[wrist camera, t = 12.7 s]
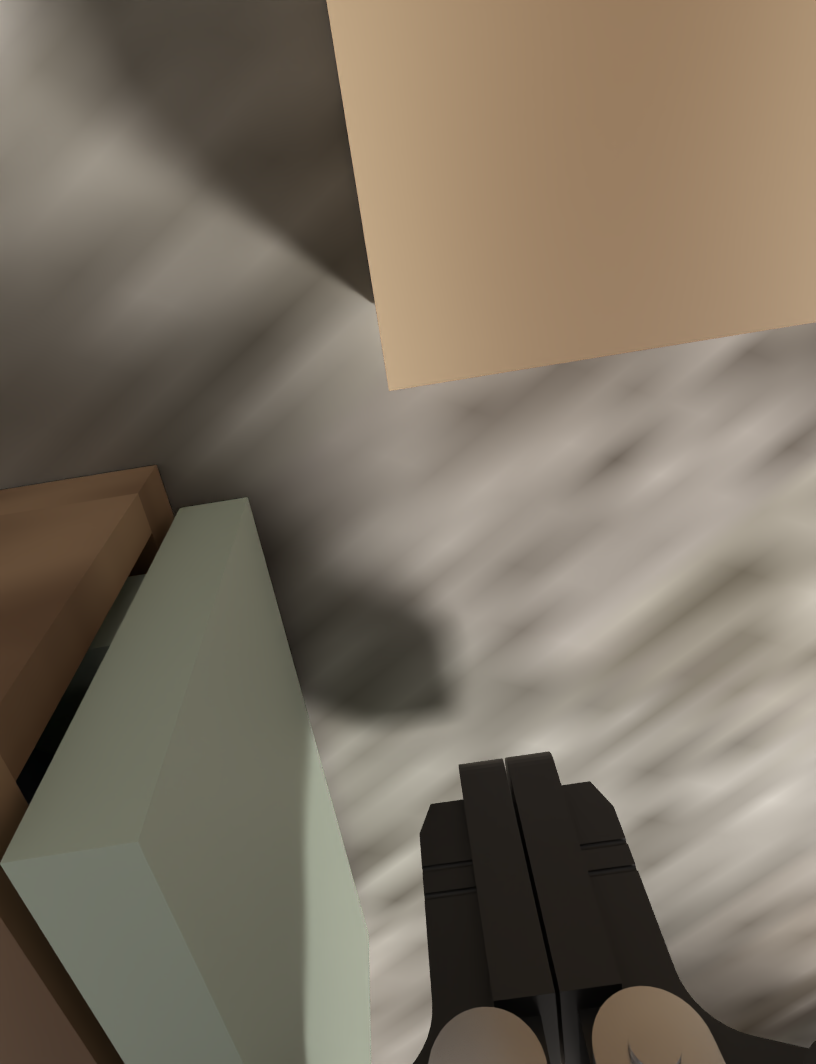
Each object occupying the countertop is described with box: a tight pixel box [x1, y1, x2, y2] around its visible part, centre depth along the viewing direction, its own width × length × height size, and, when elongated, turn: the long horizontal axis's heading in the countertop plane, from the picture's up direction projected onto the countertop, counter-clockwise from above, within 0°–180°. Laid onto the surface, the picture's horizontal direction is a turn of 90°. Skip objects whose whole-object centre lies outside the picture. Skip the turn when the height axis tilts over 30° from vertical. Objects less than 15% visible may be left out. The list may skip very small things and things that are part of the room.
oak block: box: [326, 0, 816, 391], centre depth 7 cm, size 4×4×4 cm
